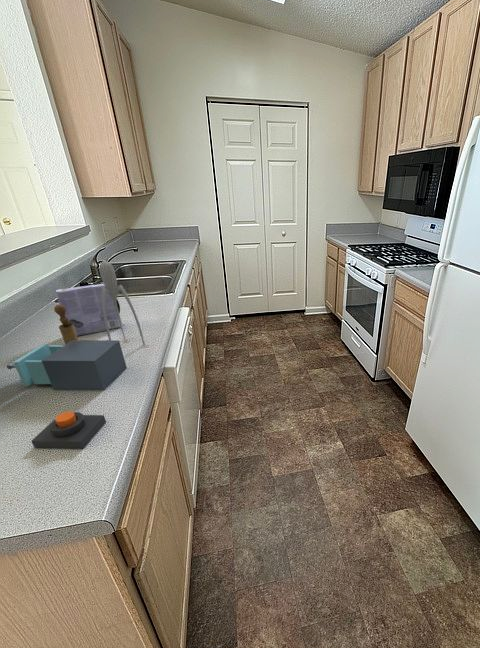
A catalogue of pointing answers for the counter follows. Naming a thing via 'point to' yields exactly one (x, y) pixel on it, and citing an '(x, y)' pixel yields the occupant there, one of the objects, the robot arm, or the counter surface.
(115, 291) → the juicer
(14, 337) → the counter surface
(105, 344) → the dark grey box
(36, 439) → the block
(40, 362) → the drawer
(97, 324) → the cake pan box
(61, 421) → the button
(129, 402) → the counter surface
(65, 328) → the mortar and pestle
